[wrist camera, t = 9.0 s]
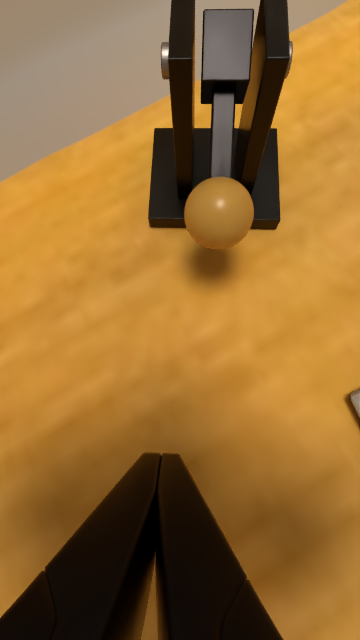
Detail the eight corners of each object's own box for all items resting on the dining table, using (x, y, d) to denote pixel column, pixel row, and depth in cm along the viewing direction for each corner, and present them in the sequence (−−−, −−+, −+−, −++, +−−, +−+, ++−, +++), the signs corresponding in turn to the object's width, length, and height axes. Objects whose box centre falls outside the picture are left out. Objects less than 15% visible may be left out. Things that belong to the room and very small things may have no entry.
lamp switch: (246, 250, 19) (257, 249, 16) (184, 248, 19) (181, 248, 16) (258, 49, 17) (274, -4, 13) (188, 50, 17) (186, -2, 14)
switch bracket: (275, 229, 23) (344, 88, 13) (150, 227, 24) (116, 89, 13) (273, 140, 25) (331, -47, 15) (156, 140, 25) (130, -43, 15)
